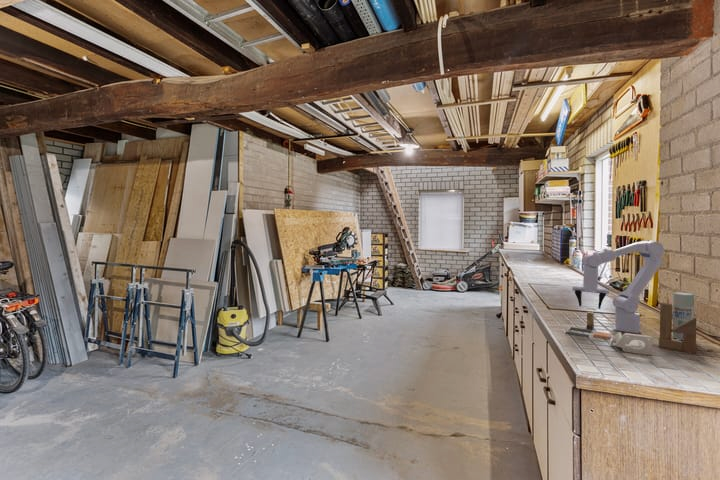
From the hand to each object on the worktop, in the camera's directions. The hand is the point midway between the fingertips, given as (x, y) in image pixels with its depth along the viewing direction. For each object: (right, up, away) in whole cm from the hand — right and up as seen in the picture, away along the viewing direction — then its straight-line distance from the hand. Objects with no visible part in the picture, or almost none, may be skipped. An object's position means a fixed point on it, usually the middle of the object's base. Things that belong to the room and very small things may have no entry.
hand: (589, 307), depth 164 cm
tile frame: (-9, -11, -6) cm, 15 cm away
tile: (-2, -11, -12) cm, 16 cm away
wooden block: (+16, -12, -28) cm, 34 cm away
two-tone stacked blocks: (+1, -11, 0) cm, 11 cm away
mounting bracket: (-4, -12, -29) cm, 32 cm away
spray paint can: (+30, -11, -16) cm, 35 cm away
